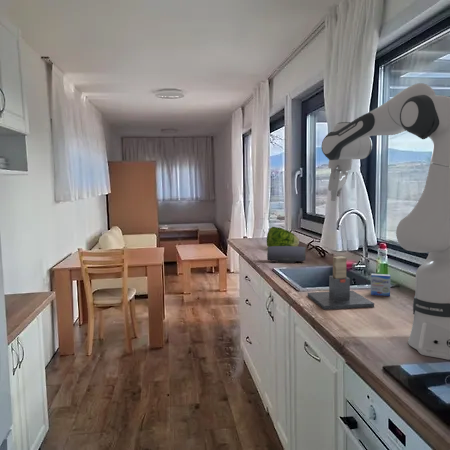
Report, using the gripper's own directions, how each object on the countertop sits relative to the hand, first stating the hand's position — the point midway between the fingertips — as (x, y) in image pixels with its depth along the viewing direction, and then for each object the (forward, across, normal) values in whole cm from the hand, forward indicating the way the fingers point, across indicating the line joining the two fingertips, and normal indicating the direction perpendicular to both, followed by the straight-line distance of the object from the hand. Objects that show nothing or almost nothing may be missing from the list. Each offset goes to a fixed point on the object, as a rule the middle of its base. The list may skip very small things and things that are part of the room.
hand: (335, 198), depth 172 cm
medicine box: (+41, +8, -23) cm, 47 cm away
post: (+38, -8, -8) cm, 40 cm away
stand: (+40, -9, -8) cm, 42 cm away
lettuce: (+68, +112, +49) cm, 139 cm away
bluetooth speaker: (+58, +66, +34) cm, 95 cm away
